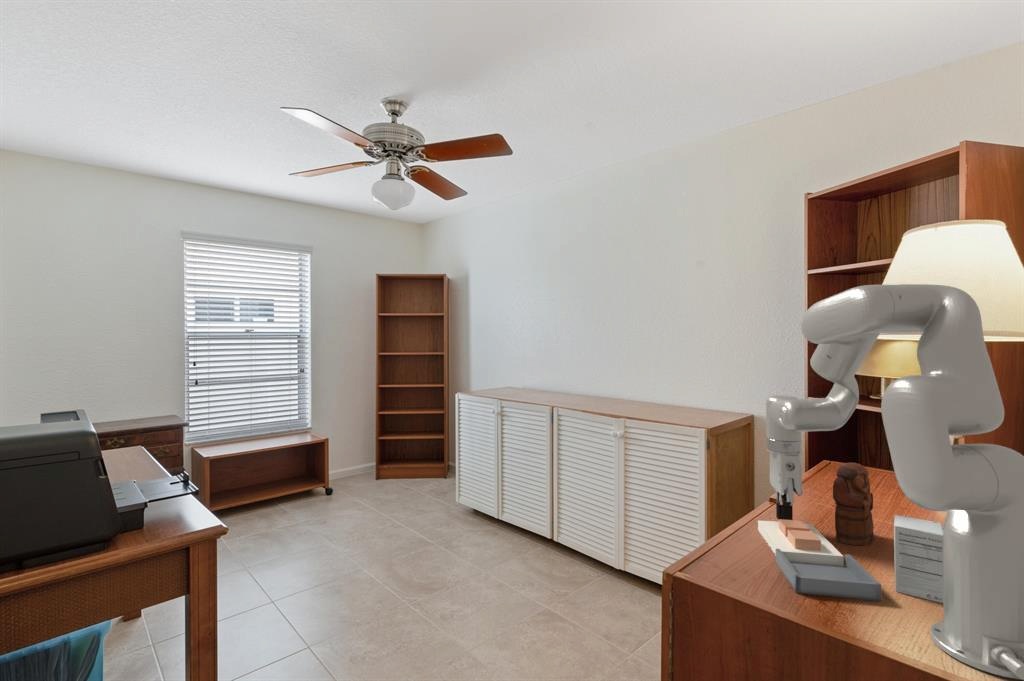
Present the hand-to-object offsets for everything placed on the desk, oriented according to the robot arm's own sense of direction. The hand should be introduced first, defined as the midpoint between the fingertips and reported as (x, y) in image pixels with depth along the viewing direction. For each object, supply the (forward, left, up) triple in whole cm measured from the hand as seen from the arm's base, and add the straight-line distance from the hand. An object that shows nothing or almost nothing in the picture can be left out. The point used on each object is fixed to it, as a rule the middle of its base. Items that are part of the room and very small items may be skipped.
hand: (784, 519), depth 120 cm
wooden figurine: (-1, -15, -3) cm, 15 cm away
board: (-9, 0, -3) cm, 9 cm away
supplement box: (-25, -16, -3) cm, 30 cm away
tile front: (-13, 0, -1) cm, 13 cm away
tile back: (-7, 0, -1) cm, 7 cm away
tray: (-25, 0, -3) cm, 25 cm away
